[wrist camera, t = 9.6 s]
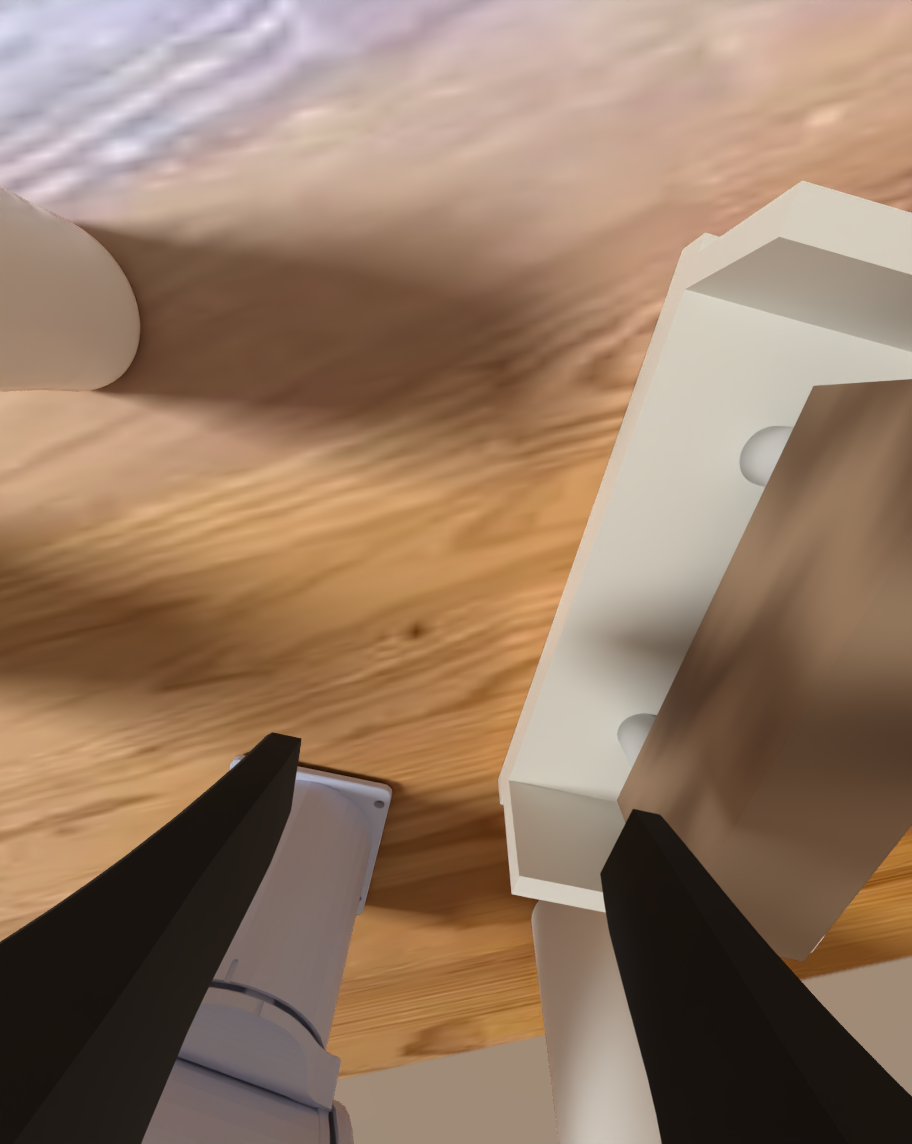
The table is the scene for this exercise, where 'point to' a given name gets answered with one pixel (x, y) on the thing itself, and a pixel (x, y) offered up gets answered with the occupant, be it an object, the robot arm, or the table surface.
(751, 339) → the shelf stand
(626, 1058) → the cylindrical container
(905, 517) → the brown wooden bar
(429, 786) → the table surface
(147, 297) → the table surface
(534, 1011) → the table surface
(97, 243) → the drinking glass
